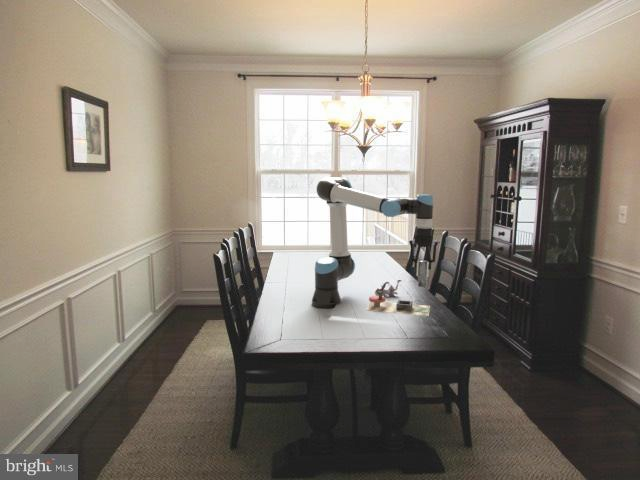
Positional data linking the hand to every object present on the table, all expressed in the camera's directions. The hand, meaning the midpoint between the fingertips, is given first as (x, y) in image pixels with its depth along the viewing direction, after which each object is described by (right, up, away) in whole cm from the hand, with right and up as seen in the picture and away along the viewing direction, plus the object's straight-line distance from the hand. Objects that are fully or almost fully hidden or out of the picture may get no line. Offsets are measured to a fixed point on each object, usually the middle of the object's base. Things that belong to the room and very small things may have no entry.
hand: (422, 275), depth 217 cm
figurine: (-12, -15, +28) cm, 34 cm away
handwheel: (-21, -16, +9) cm, 28 cm away
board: (-11, -18, +6) cm, 22 cm away
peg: (0, -5, +1) cm, 5 cm away
